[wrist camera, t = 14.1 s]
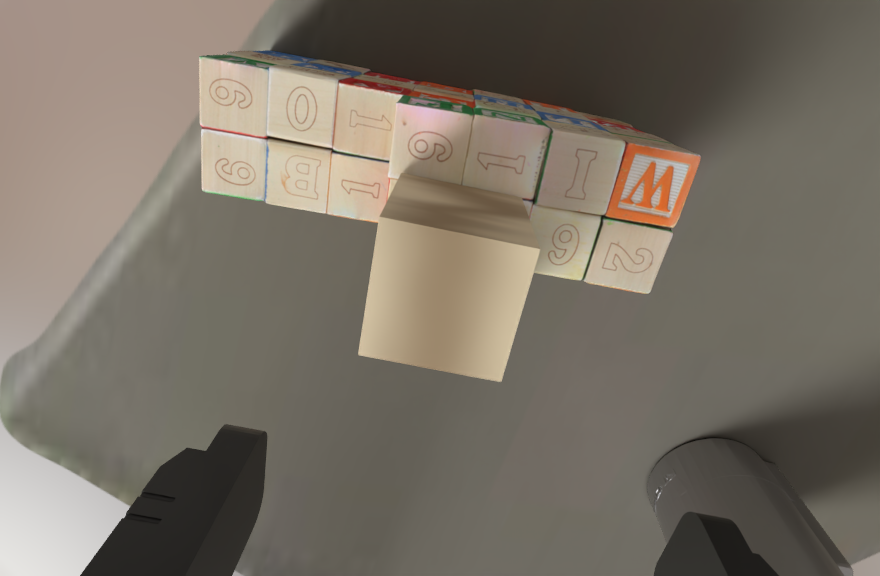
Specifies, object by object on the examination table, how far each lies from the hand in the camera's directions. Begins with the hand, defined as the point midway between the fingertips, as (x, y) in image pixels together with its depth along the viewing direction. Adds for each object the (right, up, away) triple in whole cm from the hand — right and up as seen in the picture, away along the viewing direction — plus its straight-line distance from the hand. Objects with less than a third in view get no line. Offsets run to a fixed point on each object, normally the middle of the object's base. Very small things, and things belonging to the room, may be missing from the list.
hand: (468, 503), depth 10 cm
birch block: (0, +6, +12) cm, 14 cm away
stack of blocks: (-1, +14, +23) cm, 27 cm away
